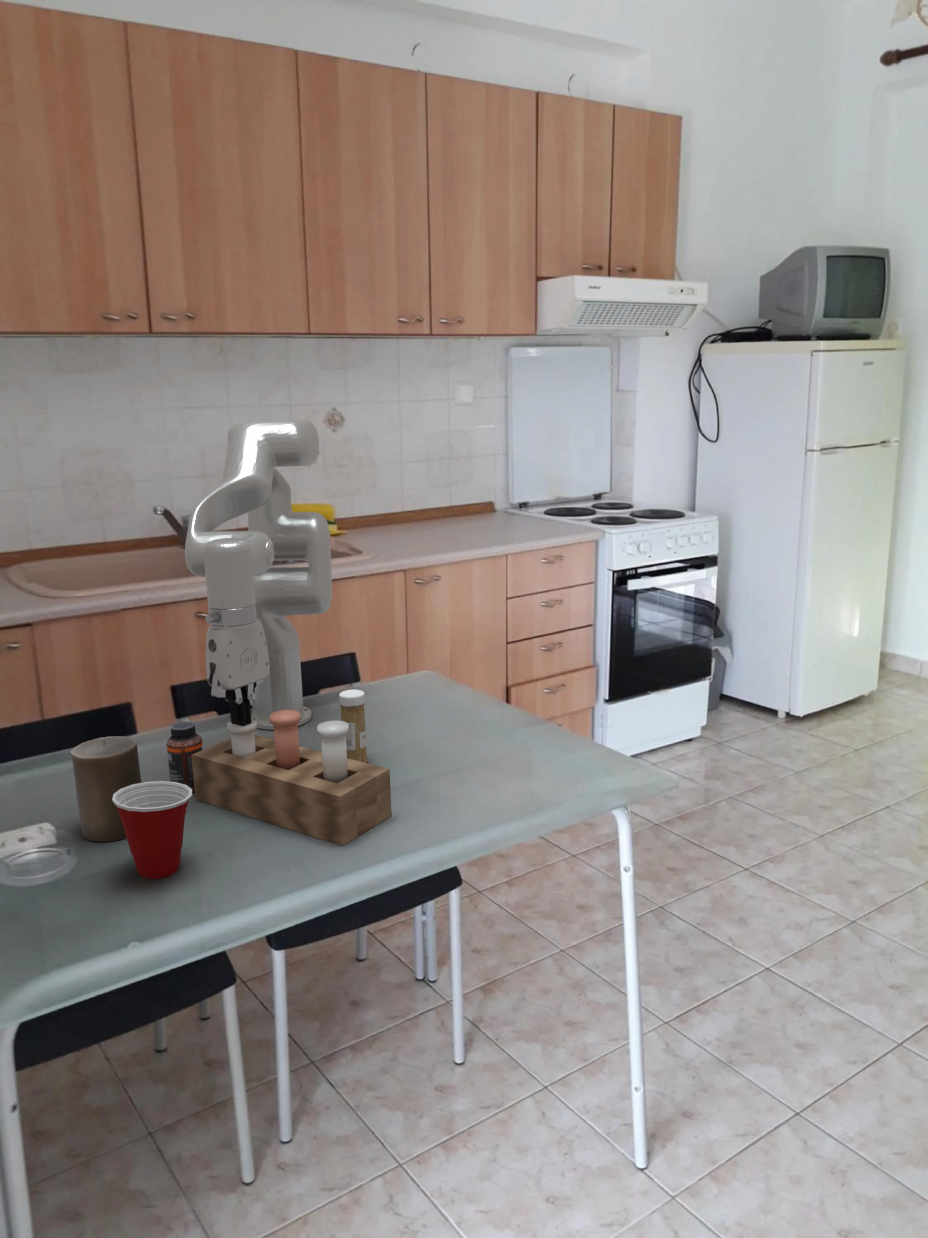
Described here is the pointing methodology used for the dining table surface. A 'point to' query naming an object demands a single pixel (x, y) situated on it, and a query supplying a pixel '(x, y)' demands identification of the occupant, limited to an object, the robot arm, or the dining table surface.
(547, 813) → the dining table surface
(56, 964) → the dining table surface
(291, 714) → the brick plug
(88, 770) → the pillar candle
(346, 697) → the sprinkles bottle
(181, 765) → the supplement bottle
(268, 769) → the socket board
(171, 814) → the plastic cup
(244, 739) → the grey plug
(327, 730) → the grey plug
